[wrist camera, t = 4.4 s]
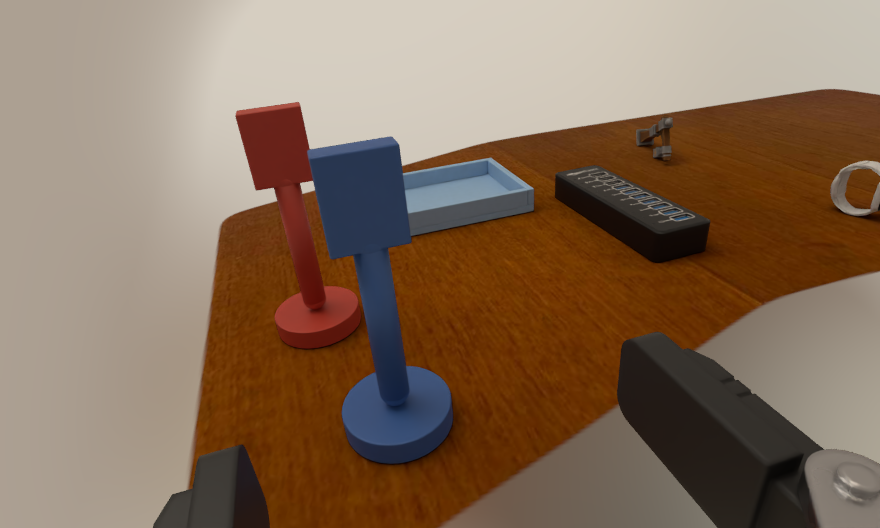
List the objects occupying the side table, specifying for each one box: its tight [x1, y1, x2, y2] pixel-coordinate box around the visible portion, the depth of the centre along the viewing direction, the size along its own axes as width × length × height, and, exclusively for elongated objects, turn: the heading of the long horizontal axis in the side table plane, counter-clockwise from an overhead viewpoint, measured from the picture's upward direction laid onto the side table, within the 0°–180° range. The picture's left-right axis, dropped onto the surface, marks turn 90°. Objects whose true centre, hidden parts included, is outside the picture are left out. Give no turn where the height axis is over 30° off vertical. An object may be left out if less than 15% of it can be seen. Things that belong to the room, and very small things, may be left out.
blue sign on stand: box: [307, 137, 453, 464], centre depth 22 cm, size 5×5×14 cm
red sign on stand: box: [236, 102, 361, 349], centre depth 29 cm, size 5×5×14 cm
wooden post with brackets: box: [636, 116, 673, 161], centre depth 55 cm, size 2×8×4 cm, turn 177°
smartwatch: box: [831, 161, 880, 216], centre depth 39 cm, size 4×2×4 cm, turn 31°
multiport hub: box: [555, 165, 710, 262], centre depth 42 cm, size 4×14×2 cm, turn 17°
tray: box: [403, 158, 534, 236], centre depth 47 cm, size 15×10×2 cm
